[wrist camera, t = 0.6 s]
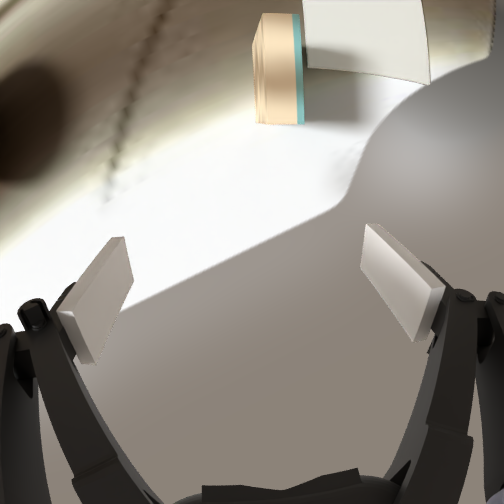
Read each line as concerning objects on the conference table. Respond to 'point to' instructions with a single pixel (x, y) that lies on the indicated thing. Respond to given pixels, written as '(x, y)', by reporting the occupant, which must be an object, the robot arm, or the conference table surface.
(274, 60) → the block
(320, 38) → the mat
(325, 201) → the conference table surface
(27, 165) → the conference table surface
